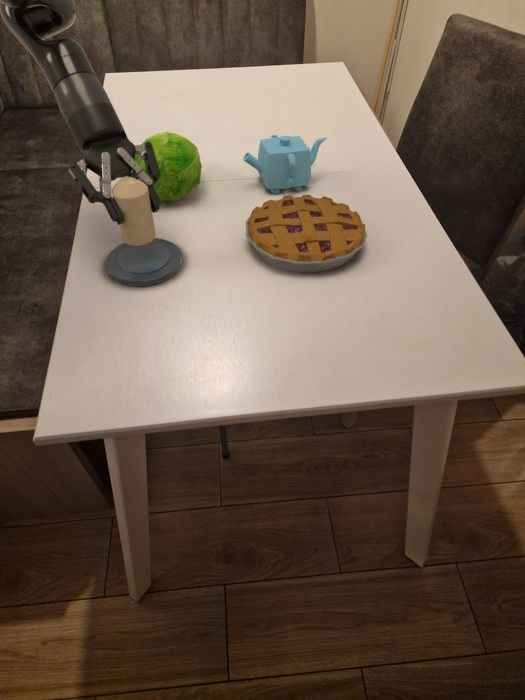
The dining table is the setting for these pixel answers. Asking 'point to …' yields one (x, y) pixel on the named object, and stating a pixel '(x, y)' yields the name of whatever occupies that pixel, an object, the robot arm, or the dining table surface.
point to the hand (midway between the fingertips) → (139, 216)
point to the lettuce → (174, 165)
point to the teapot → (284, 162)
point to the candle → (134, 211)
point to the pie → (305, 233)
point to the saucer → (144, 263)
